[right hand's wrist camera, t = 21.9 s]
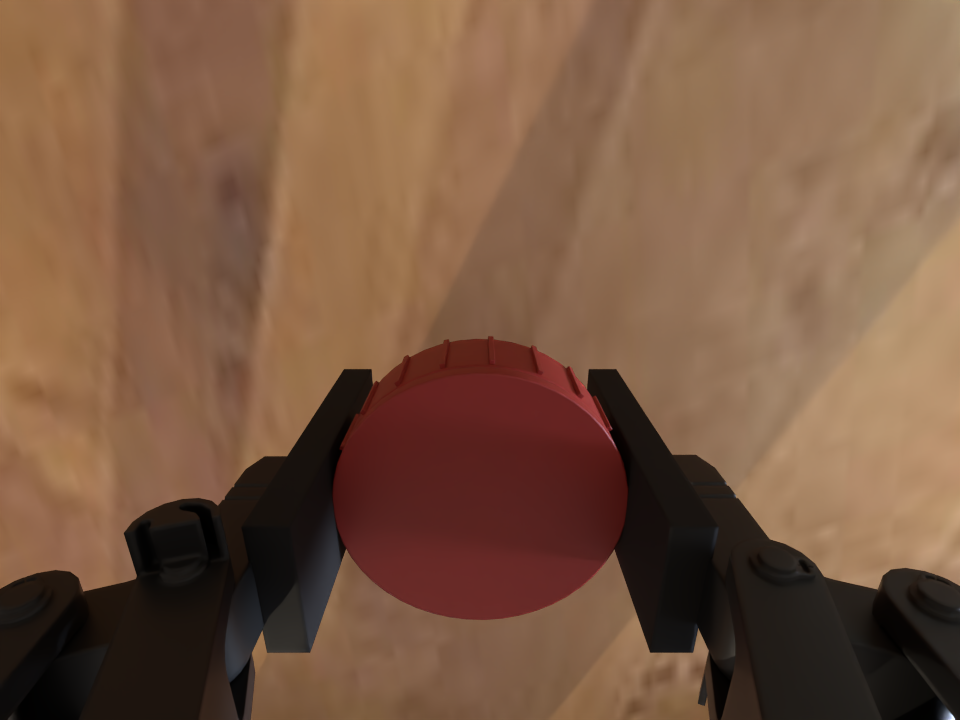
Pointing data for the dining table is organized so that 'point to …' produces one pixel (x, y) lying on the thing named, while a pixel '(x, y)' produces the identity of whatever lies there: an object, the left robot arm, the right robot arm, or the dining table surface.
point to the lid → (480, 481)
